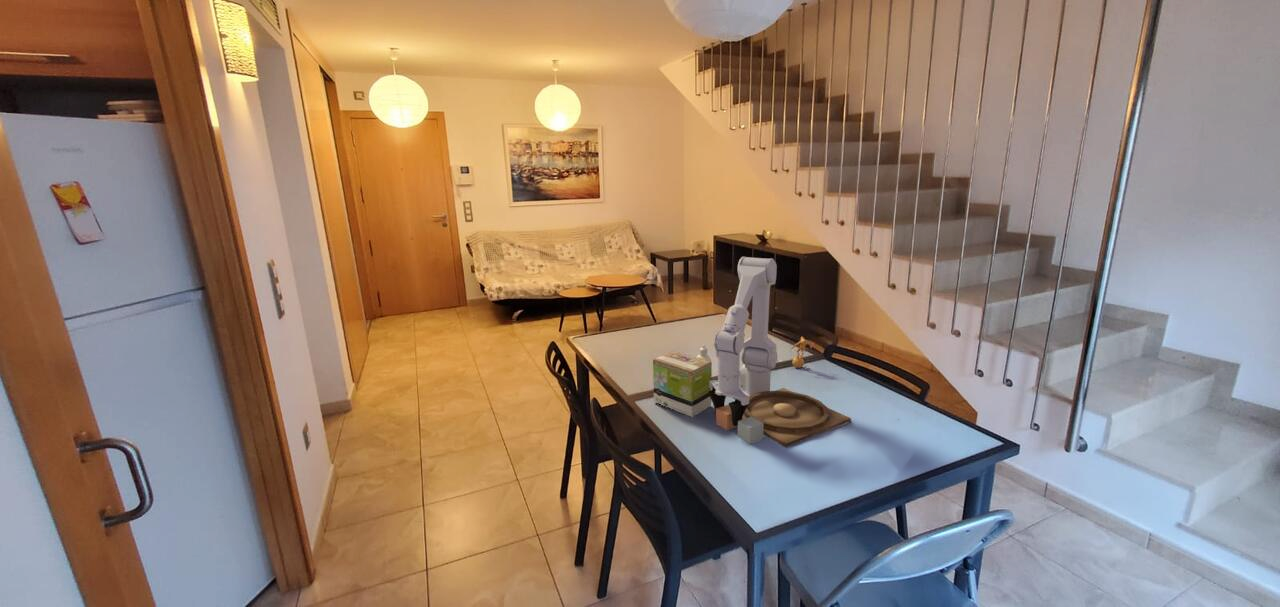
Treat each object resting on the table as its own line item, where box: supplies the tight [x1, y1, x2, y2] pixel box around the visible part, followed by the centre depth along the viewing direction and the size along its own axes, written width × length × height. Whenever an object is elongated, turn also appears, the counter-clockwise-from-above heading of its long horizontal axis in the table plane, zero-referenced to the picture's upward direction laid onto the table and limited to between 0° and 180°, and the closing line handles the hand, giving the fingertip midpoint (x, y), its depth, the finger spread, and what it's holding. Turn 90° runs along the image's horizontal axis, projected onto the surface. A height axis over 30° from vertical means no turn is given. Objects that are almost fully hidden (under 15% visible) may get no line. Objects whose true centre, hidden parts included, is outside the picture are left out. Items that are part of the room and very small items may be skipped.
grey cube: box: [737, 417, 764, 445], centre depth 134 cm, size 5×5×5 cm
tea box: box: [652, 350, 713, 418], centre depth 153 cm, size 15×10×15 cm
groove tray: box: [742, 387, 852, 448], centre depth 146 cm, size 25×25×2 cm
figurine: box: [789, 336, 813, 369], centre depth 179 cm, size 8×6×12 cm
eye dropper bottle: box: [696, 344, 712, 362], centre depth 173 cm, size 4×6×12 cm
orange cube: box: [715, 404, 738, 431], centre depth 142 cm, size 5×5×5 cm
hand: (728, 419), depth 142 cm, fingers open, 7 cm apart
